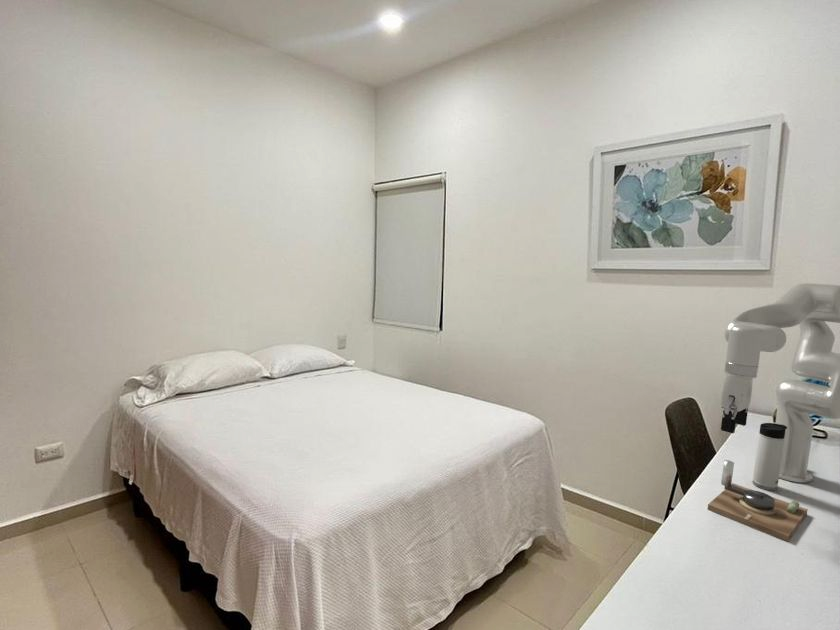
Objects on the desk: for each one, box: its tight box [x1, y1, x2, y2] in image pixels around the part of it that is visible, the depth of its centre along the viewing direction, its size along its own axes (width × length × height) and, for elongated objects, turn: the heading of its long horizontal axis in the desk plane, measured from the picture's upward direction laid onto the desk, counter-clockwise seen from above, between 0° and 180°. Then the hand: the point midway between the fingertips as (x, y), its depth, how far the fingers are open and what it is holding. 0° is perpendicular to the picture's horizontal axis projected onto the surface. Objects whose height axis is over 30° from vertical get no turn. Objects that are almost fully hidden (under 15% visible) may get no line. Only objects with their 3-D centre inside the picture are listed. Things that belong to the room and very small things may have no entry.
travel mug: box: [752, 422, 787, 492], centre depth 140 cm, size 6×7×20 cm
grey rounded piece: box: [721, 459, 775, 510], centre depth 128 cm, size 7×13×9 cm, turn 39°
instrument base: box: [707, 482, 808, 543], centre depth 127 cm, size 20×18×3 cm
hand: (733, 427), depth 130 cm, fingers open, 9 cm apart
